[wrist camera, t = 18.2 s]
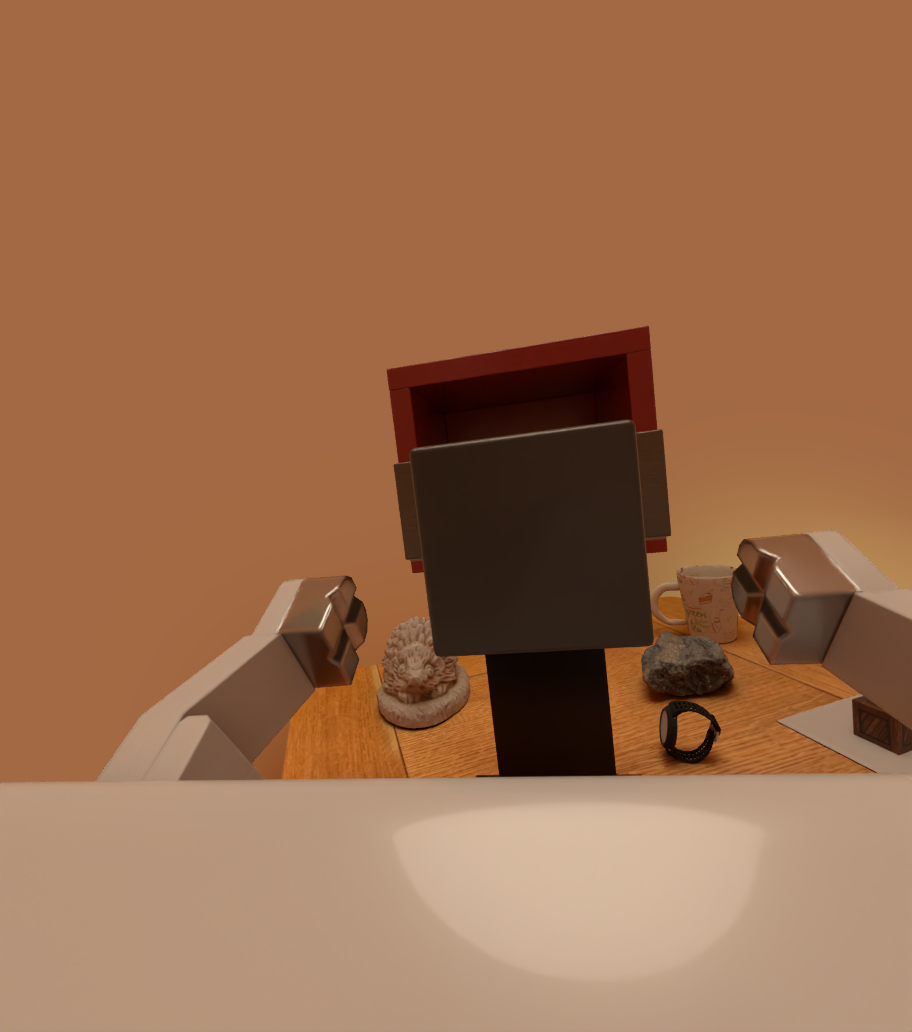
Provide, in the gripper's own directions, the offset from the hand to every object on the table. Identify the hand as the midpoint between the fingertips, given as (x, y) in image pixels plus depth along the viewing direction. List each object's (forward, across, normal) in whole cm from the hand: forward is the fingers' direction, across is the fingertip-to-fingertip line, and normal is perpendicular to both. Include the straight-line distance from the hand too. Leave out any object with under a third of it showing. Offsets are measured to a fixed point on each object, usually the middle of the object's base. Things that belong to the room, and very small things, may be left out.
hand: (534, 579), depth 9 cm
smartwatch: (+14, -12, +38) cm, 42 cm away
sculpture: (+26, +16, +44) cm, 54 cm away
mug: (+39, -23, +52) cm, 69 cm away
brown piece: (+6, 0, +4) cm, 7 cm away
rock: (+26, -16, +44) cm, 54 cm away
